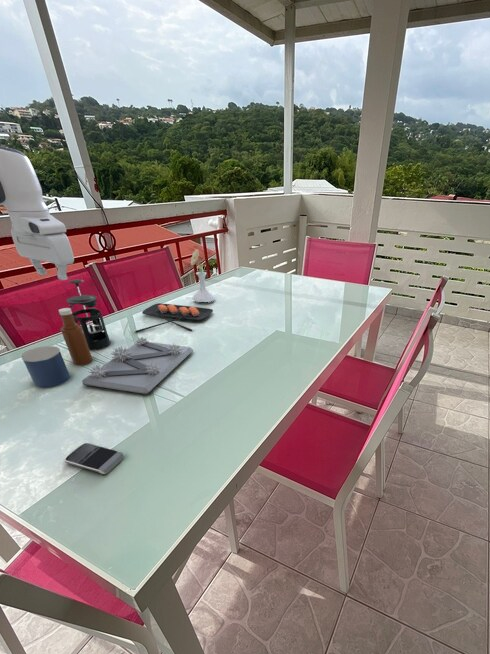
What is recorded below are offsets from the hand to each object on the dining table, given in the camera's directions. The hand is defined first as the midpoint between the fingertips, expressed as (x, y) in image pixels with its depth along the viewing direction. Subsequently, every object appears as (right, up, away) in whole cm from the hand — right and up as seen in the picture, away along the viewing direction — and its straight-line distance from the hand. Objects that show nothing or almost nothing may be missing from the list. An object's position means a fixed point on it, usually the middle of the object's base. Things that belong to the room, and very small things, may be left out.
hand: (53, 277), depth 94 cm
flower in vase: (+23, +13, +71) cm, 76 cm away
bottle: (-1, -23, +15) cm, 27 cm away
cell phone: (+25, -49, -21) cm, 59 cm away
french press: (-3, -15, +26) cm, 31 cm away
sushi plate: (+15, -2, +48) cm, 50 cm away
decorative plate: (+20, -25, +14) cm, 35 cm away
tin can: (-4, -29, +5) cm, 30 cm away
